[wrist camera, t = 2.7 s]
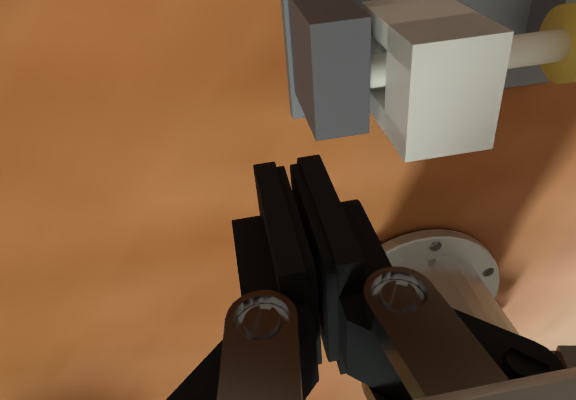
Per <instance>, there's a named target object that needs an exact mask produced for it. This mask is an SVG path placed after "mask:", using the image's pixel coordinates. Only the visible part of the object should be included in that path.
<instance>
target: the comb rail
mask: <svg viewBox="0 0 576 400" xmlns="http://www.w3.org/2000/svg"><path fill="white" fill-rule="evenodd" d="M364 1H372V0H281V2H282V14H283V26H284V38H285V50H286V62H287V74H288V86H289V98H290V110H291V115H292V117H293V119H297V118H304V117H306V119H307V122H308V124H309V126H310V128H311V131H312V133H313V135H314V137H315V140H316V141H319V140H326V139H332V138H339V137H346V136H353V135H359V134H366V133H369V118H370V88H377V87H384V86H386V61H387V52H384V53H377V54H371V16H370V15H368V14H367V13H366V12H365V11H364V10H363V9H362V8H361V2H364ZM456 1H458V2H460V3H462V4H464V5H465V6H467V7H469V8H471V9H473V10H475V11H477V12H479V13H480V14H482V15H484V16H486V17H488V18H490V19H492V20H493V21H495V22H497V23H499V24H501V25H503V26H505V27H507V28H508V29H510V30H512V31H514V35H513V40H512V46H511V51H510V56H509V62H508V67H507V73H506V78H505V84H504V88H511V87H518V86H525V85H532V84H539V83H545V82H553V83H555V84H567V83H574V82H576V0H456Z"/></svg>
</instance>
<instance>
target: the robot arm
mask: <svg viewBox="0 0 576 400" xmlns="http://www.w3.org/2000/svg"><path fill="white" fill-rule="evenodd" d="M253 167H254V175H255V182H256V189H257V197H258V204H259V211H260V216H255V217H249V218H243V219H237V220H232V227H233V234H234V242H235V250H236V258H237V265H238V273H239V281H240V289H241V297H240V298H239V299H237V300H236V301H235V302H233V304H232V305H231V307H230V308H229V309H228V311H227V314H226V318H225V324H224V334H223V340H222V341H221V342H220V343H219V344H218V345H217V346H216V347H215V348H214V349H213V350H212V352H211V353H210V354H209V355H208V356H207V357H206V358H205V359H204V360H203V361H202V362H201V363H200V364H199V365H198V366H197V367H196V368H195V370H194V371H193V372H192V373H191V374H190V375H189V376H188V377H187V378H186V379H185V380H184V381H183V382H182V383H181V384H180V385H179V387H178V388H177V389H176V390H175V391H174V392H173V393H172V394H171V395H170V396H169V397H168V398H167V399H166V400H306V397H307V396H308V395H309V393H310V392H311V390H312V389H313V388H314V386H315V385H316V383H317V382H318V381H319V374H318V364H322V354H321V338H322V341H323V345H324V349H325V352H326V356H327V359H328V361H329V362H332V361H337V364H338V367H339V371H340V374H346V373H347V374H348V375H350V376H351V377H353V378H355V379H357V380H359V381H361V382H362V388H363V391H364V394H365V396H366V398H367V400H576V346H558V347H557V349H556V351H550V350H548V349H547V348H546V347H544V346H542V345H540V344H538V343H537V342H535V341H532V340H530V339H527V338H525V337H522V336H520V335H519V333H518V332H517V330H516V329H515V327H514V326H513V325H512V323H511V322H510V320H509V319H508V317H507V316H506V314H505V313H504V312H503V310H502V309H501V307H500V306H499V304H498V303H497V301H496V300H495V297H496V295H497V292H498V288H499V282H500V277H499V269H498V266H497V264H496V261H495V259H494V258H493V256H492V255H491V254H490V252H489V251H488V249H487V248H486V247H485V246H484V245H483V244H482V243H481V242H479V241H478V240H477V239H475V238H473V237H471V236H469V235H468V234H465V233H461V232H458V231H454V230H443V229H432V230H421V231H417V232H413V233H408V234H404V235H402V236H399V237H397V238H394V239H391V240H389V241H387V242H385V243H383V244H381V243H380V241H379V239H378V237H377V235H376V233H375V231H374V229H373V227H372V225H371V223H370V221H369V219H368V217H367V215H366V213H365V211H364V209H363V207H362V205H361V203H360V201H359V200H351V201H345V202H340V200H339V198H338V196H337V194H336V191H335V189H334V187H333V185H332V182H331V180H330V178H329V175H328V173H327V171H326V169H325V166H324V164H323V162H322V160H321V157H320V155H313V156H307V157H300V158H297V164H292V165H290V174H291V185H292V190H291V187H290V183H289V180H288V177H287V174H286V171H285V168H284V166H280V167H276V164H275V162H268V163H262V164H256V165H253ZM320 334H321V337H320Z"/></svg>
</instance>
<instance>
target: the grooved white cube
mask: <svg viewBox="0 0 576 400" xmlns="http://www.w3.org/2000/svg"><path fill="white" fill-rule="evenodd" d="M361 8H362V9H363V10H364V11H365V12H366V13H367V14H368V15H370V16H371V54H377V53H384V52H387V61H386V86H384V87H377V88H370V113H371V115H372V116H373V118H374V119H375V120H376V122H377V123H378V125H379V126H380V128H381V129H382V130H383V132H384V133H385V135H386V136H387V138H388V139H389V140H390V142H391V143H392V145H393V146H394V147H395V149H396V150H397V152H398V153H399V155H400V156H401V157H402V159H403V160H404V162H411V161H417V160H424V159H430V158H437V157H443V156H450V155H456V154H462V153H469V152H475V151H482V150H488V149H493V144H494V139H495V133H496V128H497V122H498V117H499V111H500V106H501V100H502V95H503V89H504V84H505V78H506V73H507V67H508V62H509V56H510V51H511V46H512V40H513V35H514V31H512V30H510V29H508V28H507V27H505V26H503V25H501V24H499V23H497V22H495V21H493V20H492V19H490V18H488V17H486V16H484V15H482V14H480V13H479V12H477V11H475V10H473V9H471V8H469V7H467V6H465V5H464V4H462V3H460V2H458V1H456V0H372V1H364V2H361Z"/></svg>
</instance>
